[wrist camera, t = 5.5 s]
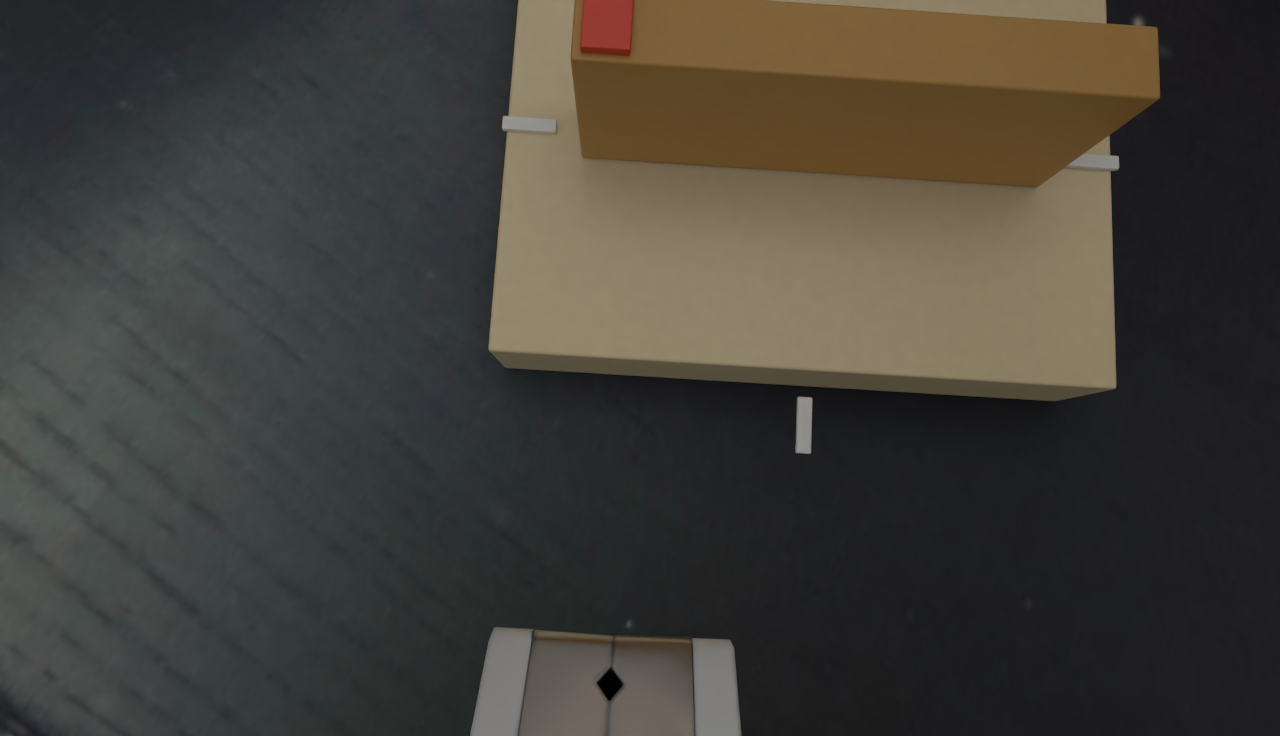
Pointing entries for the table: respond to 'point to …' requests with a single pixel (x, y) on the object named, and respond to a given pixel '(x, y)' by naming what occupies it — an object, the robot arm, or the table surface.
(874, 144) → the pointer
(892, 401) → the table surface
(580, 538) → the table surface
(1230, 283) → the table surface
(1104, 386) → the dial panel
